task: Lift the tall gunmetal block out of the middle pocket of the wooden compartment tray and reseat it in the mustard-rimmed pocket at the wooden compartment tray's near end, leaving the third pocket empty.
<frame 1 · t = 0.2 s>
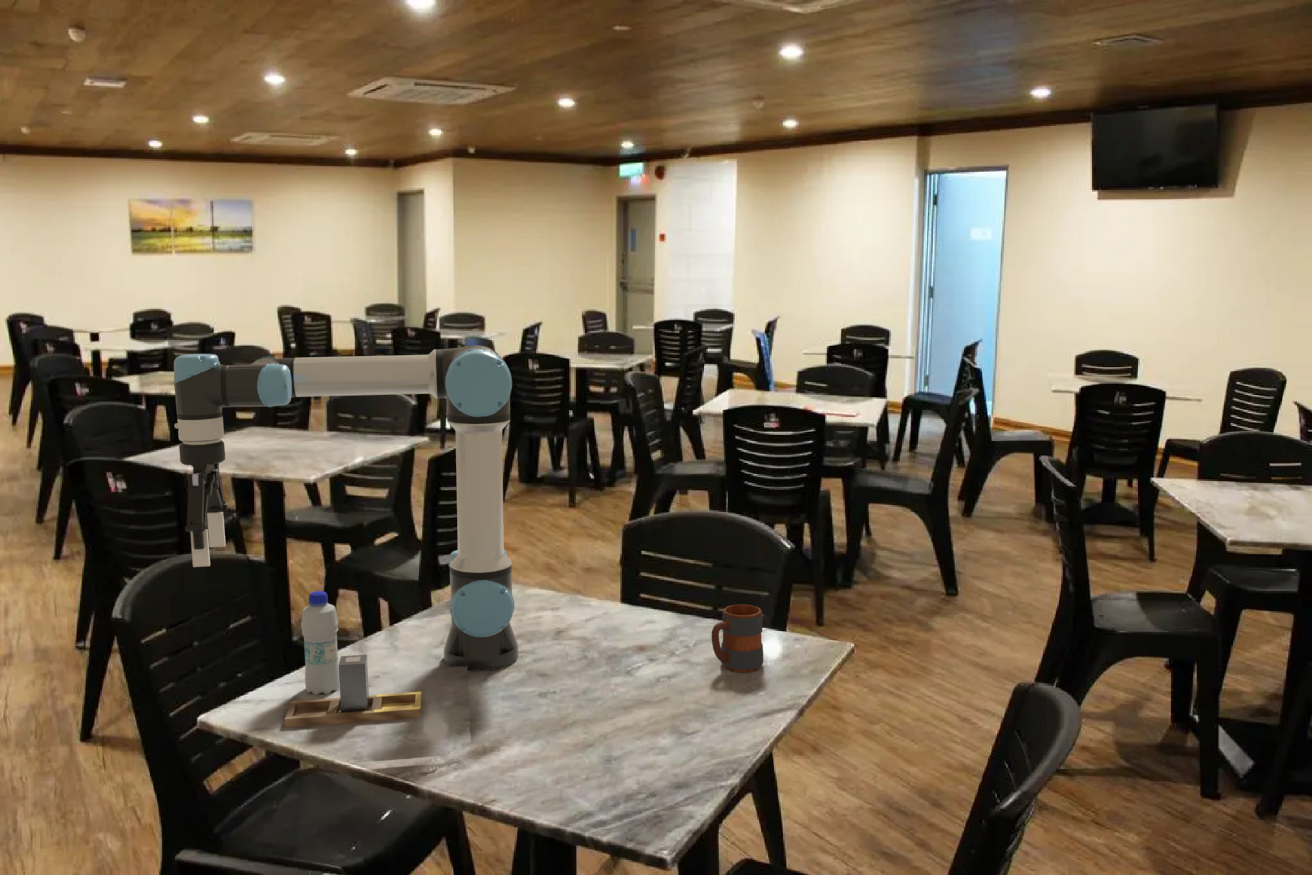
hand: (209, 556, 201), 28 cm above the table, fingers open, 13 cm apart
mug: (735, 668, 222), on the table
bottle: (323, 694, 209), on the table
wooden compartment tray: (355, 718, 198), on the table
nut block: (355, 713, 198), point 1 cm above the table, touching wooden compartment tray
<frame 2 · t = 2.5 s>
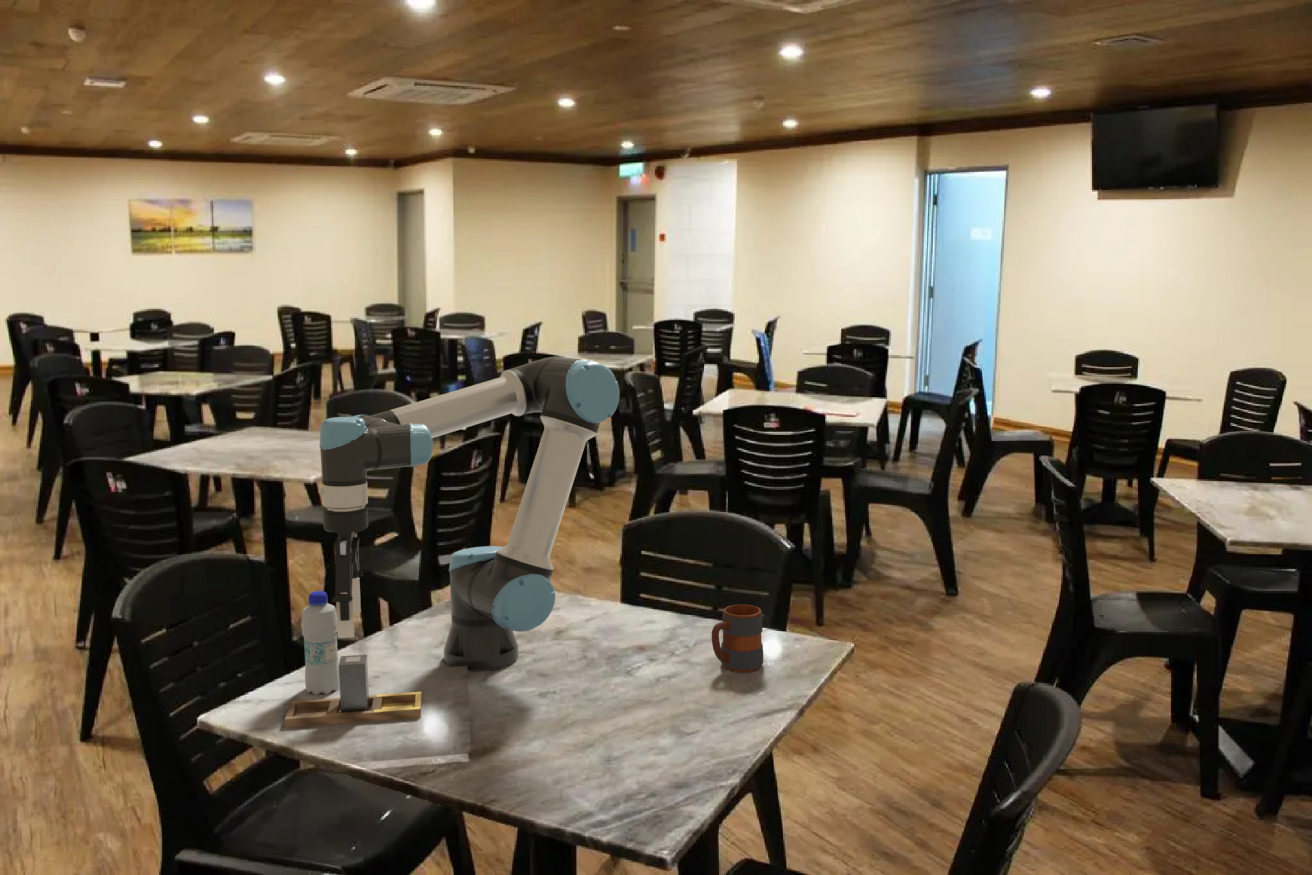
hand: (349, 624, 195), 17 cm above the table, fingers open, 13 cm apart
nothing on the table moved.
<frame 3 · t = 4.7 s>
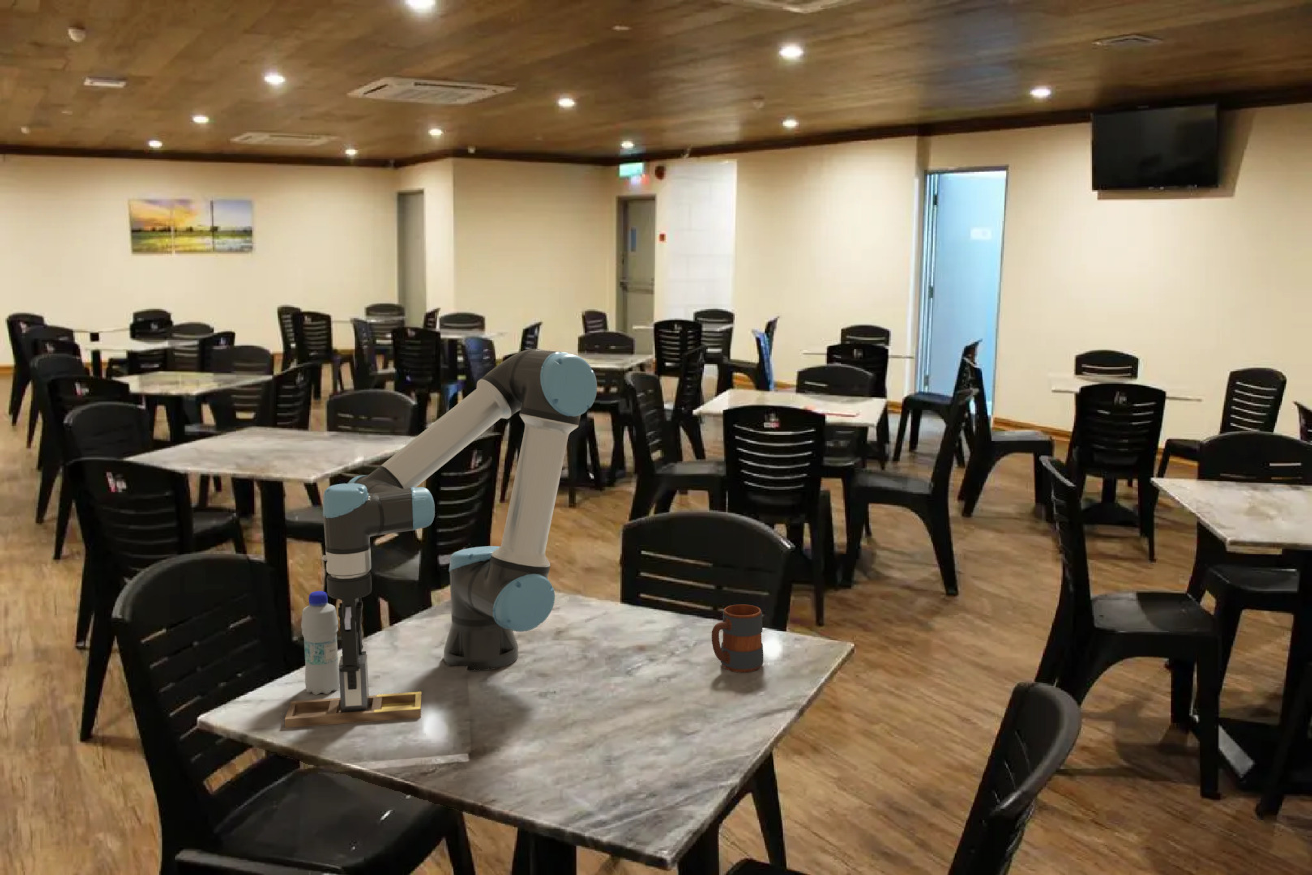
hand: (354, 698, 197), 4 cm above the table, fingers closed on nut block, 4 cm apart
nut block: (355, 713, 198), point 1 cm above the table, touching gripper, wooden compartment tray
everything else where it was.
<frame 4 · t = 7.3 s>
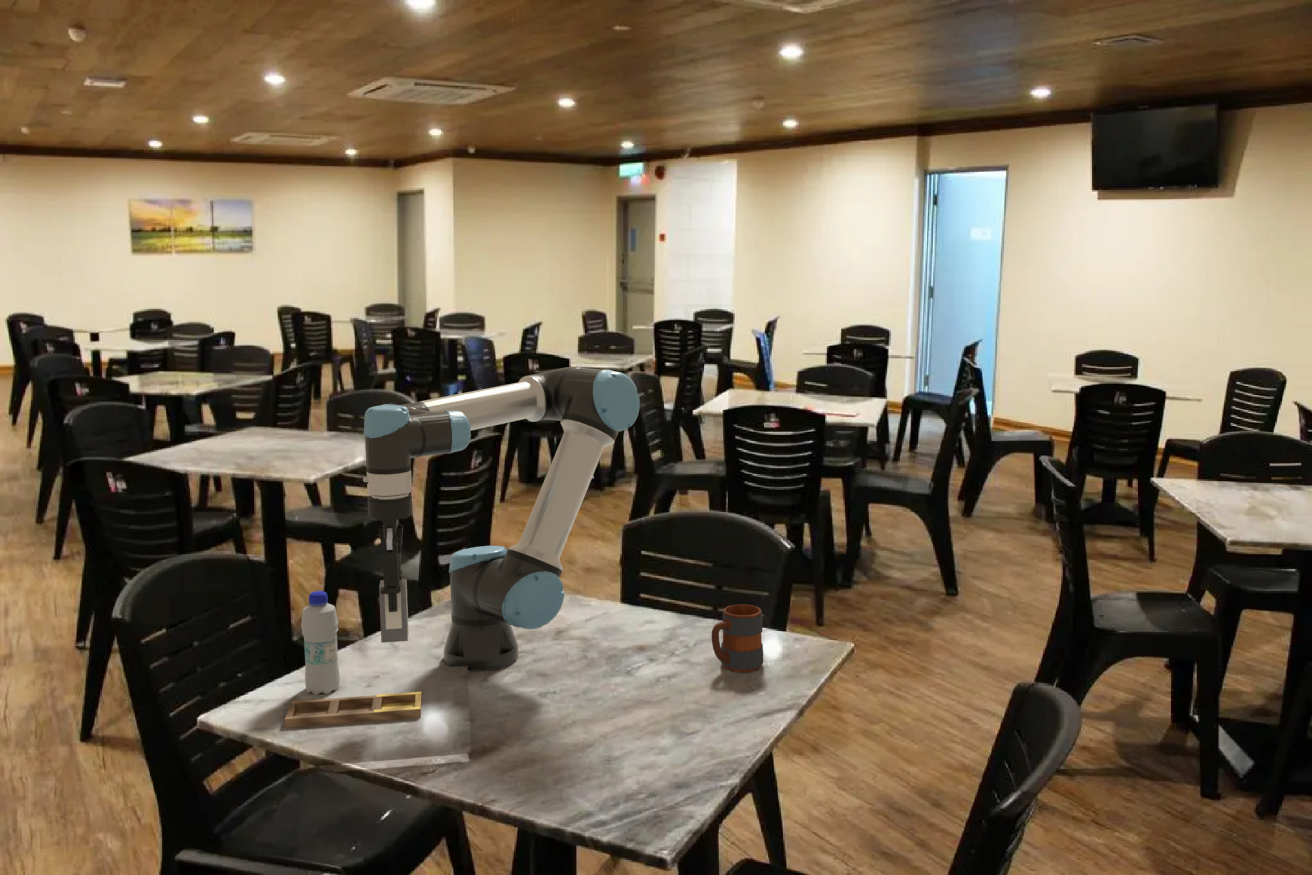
hand: (394, 622, 196), 17 cm above the table, fingers closed on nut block, 4 cm apart
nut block: (395, 637, 197), point 15 cm above the table, touching gripper
everything else where it was.
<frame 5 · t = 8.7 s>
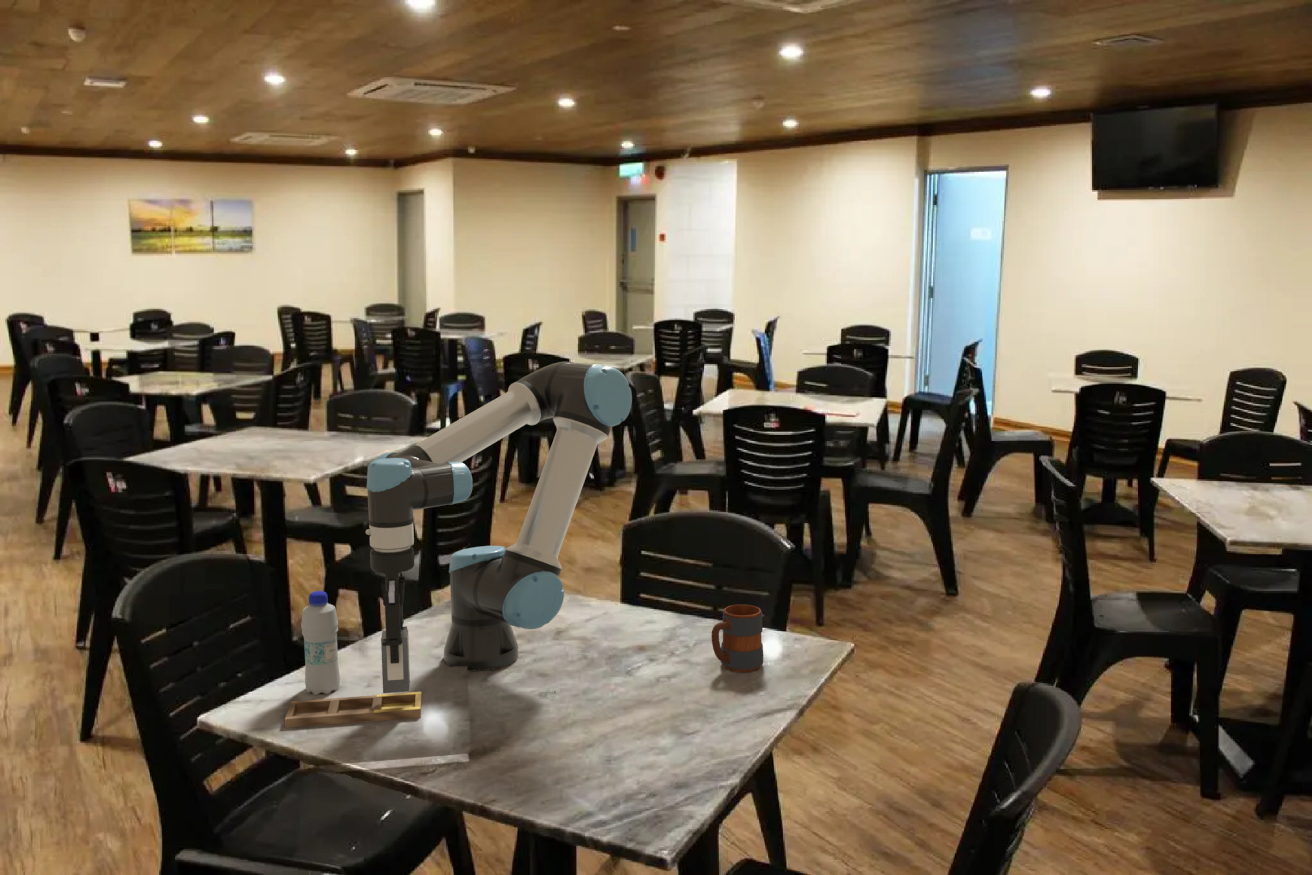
hand: (396, 673, 198), 8 cm above the table, fingers closed on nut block, 4 cm apart
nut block: (396, 687, 198), point 5 cm above the table, touching gripper
everything else where it was.
when the fingers open (5 cm above the table, at t = 10.0 s): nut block drops 1 cm, resting on wooden compartment tray.
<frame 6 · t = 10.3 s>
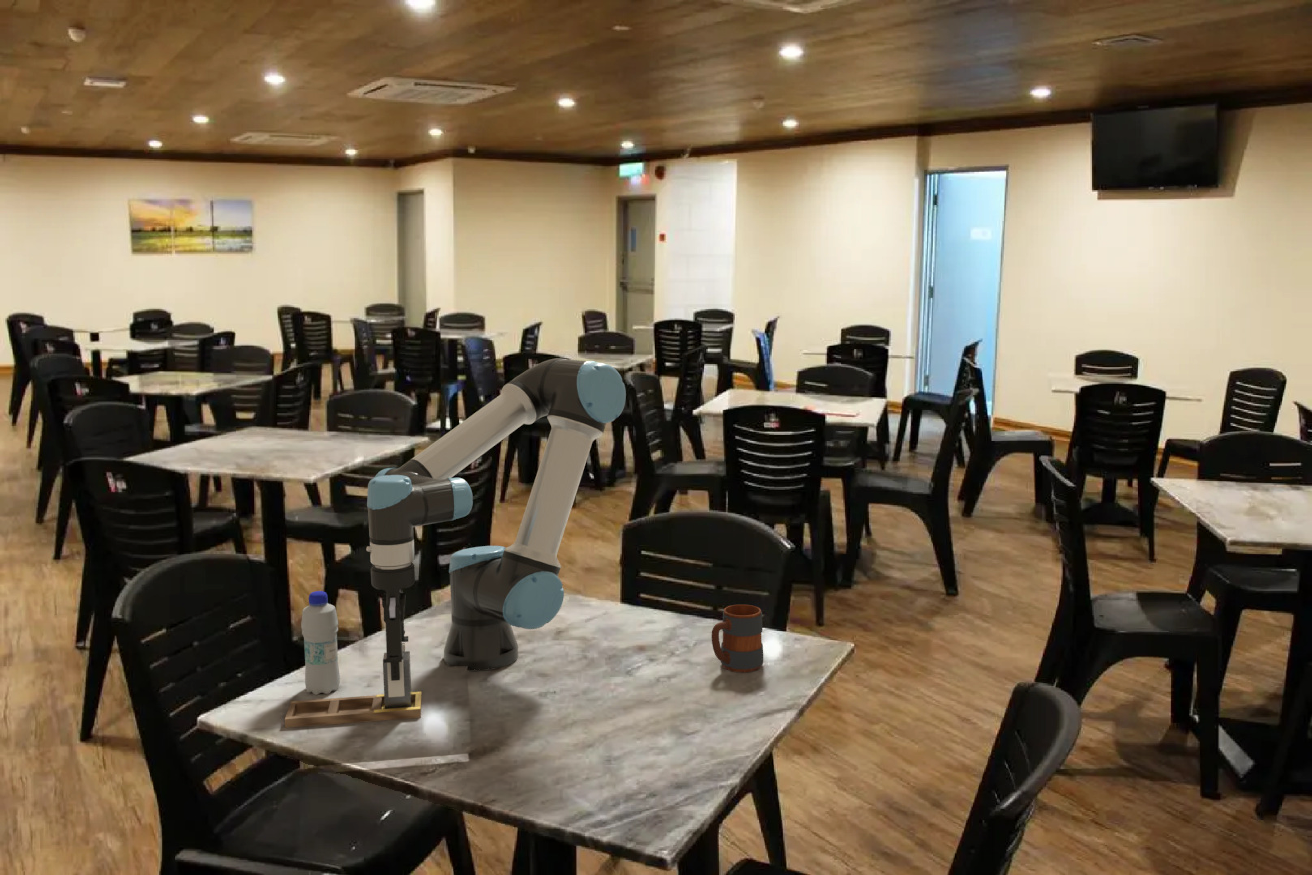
hand: (397, 686, 198), 5 cm above the table, fingers open, 8 cm apart
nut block: (398, 709, 199), point 1 cm above the table, touching wooden compartment tray
everything else where it was.
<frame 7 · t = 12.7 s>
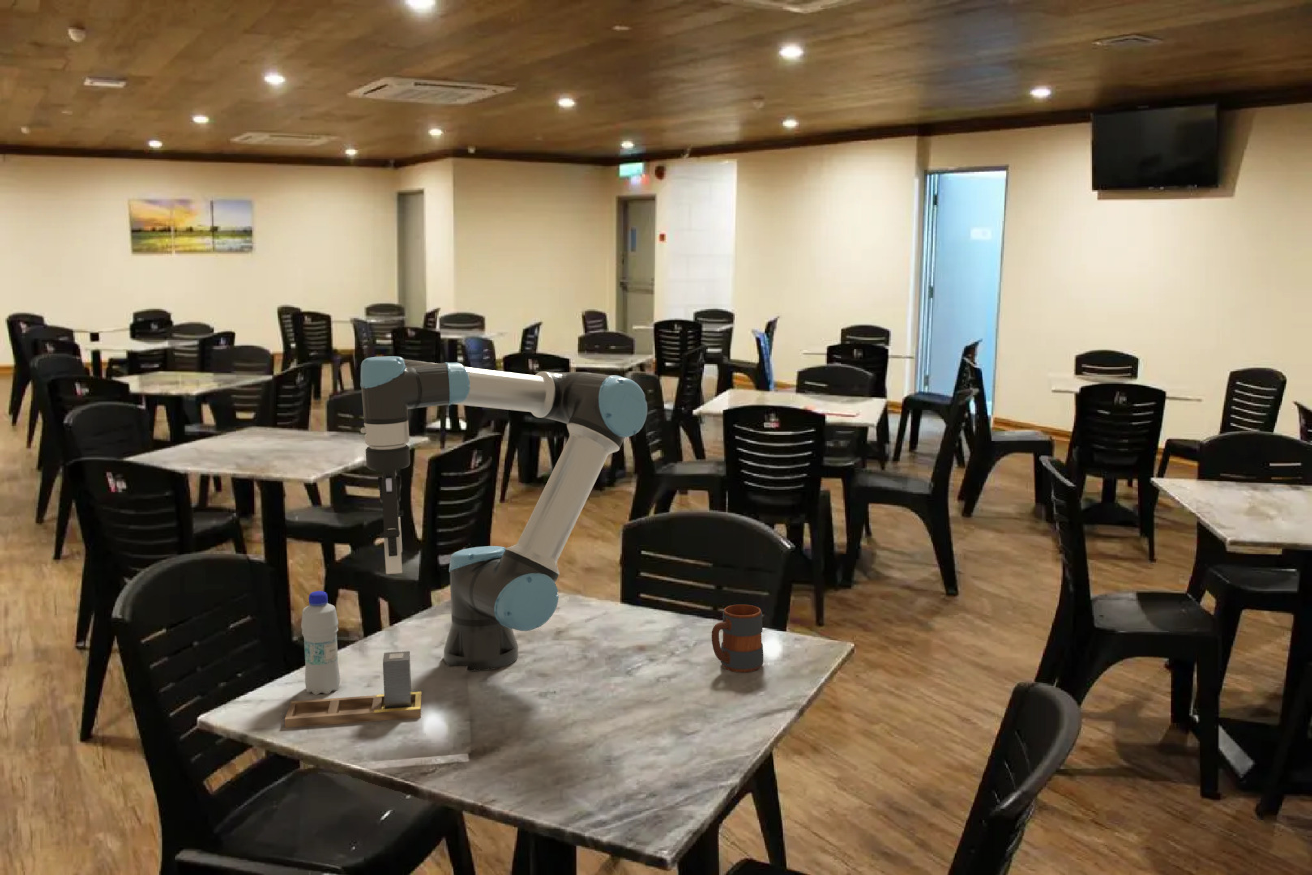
hand: (394, 562, 197), 28 cm above the table, fingers open, 13 cm apart
nothing on the table moved.
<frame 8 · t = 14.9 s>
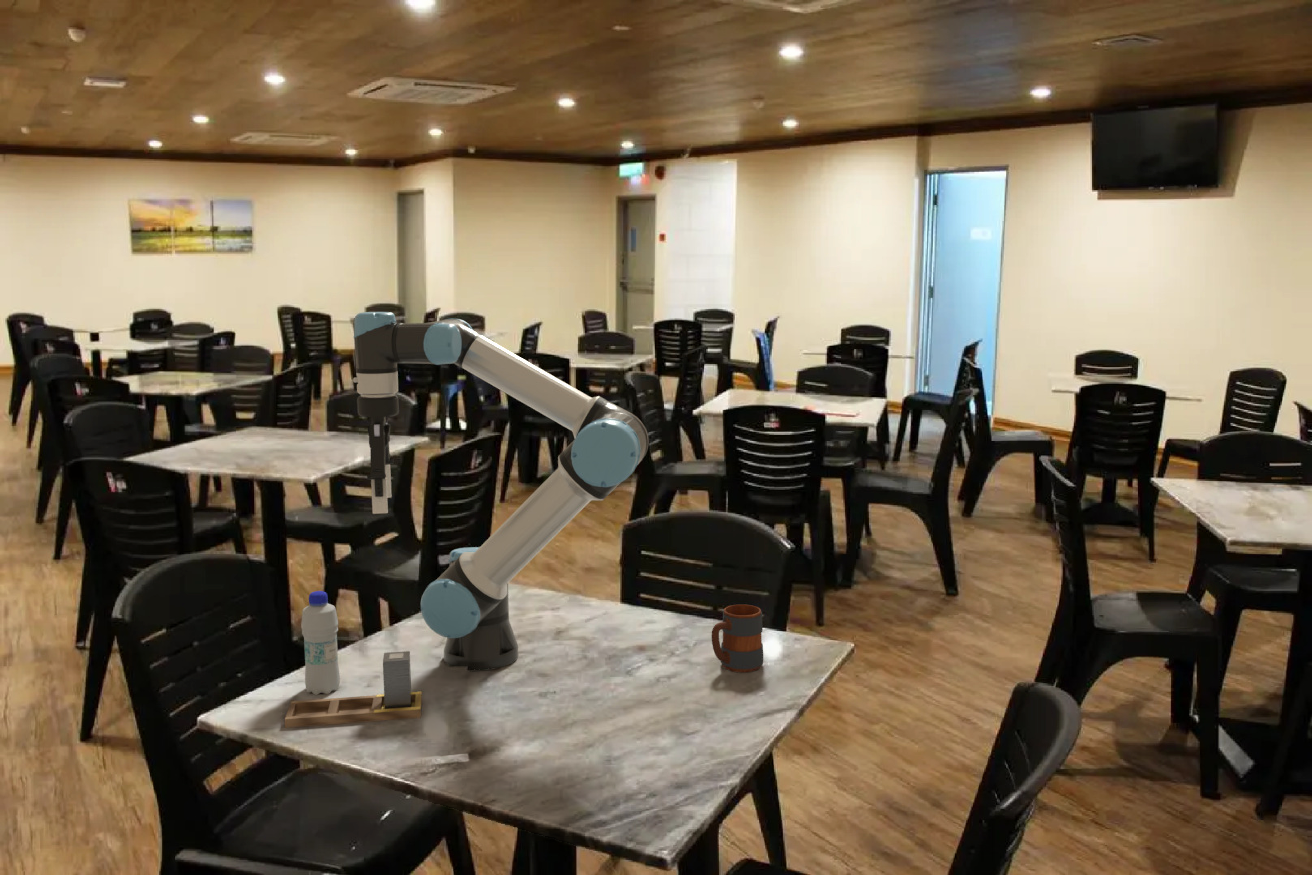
hand: (382, 505, 211), 35 cm above the table, fingers open, 13 cm apart
nothing on the table moved.
at the end: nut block 0.0 cm from the target spot on the wooden compartment tray, point 1.1 cm above the wooden compartment tray's base; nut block tilted 0°; the gripper is holding nothing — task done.
